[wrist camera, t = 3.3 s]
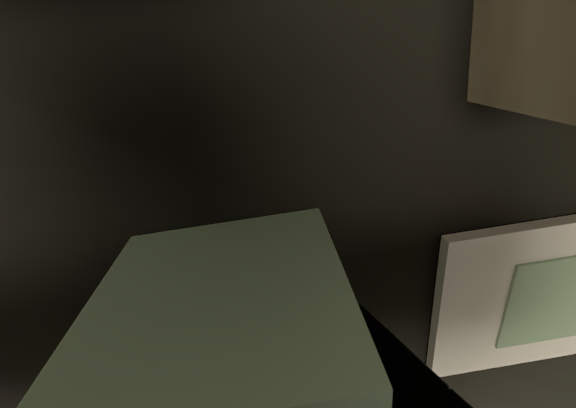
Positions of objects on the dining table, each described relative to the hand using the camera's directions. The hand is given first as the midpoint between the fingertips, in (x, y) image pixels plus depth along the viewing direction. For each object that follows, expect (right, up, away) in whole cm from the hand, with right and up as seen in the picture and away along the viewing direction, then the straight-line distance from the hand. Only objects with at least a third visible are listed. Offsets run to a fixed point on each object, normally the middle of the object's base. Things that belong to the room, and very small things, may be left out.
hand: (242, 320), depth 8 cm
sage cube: (0, 0, +1) cm, 1 cm away
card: (+10, 0, +2) cm, 10 cm away
